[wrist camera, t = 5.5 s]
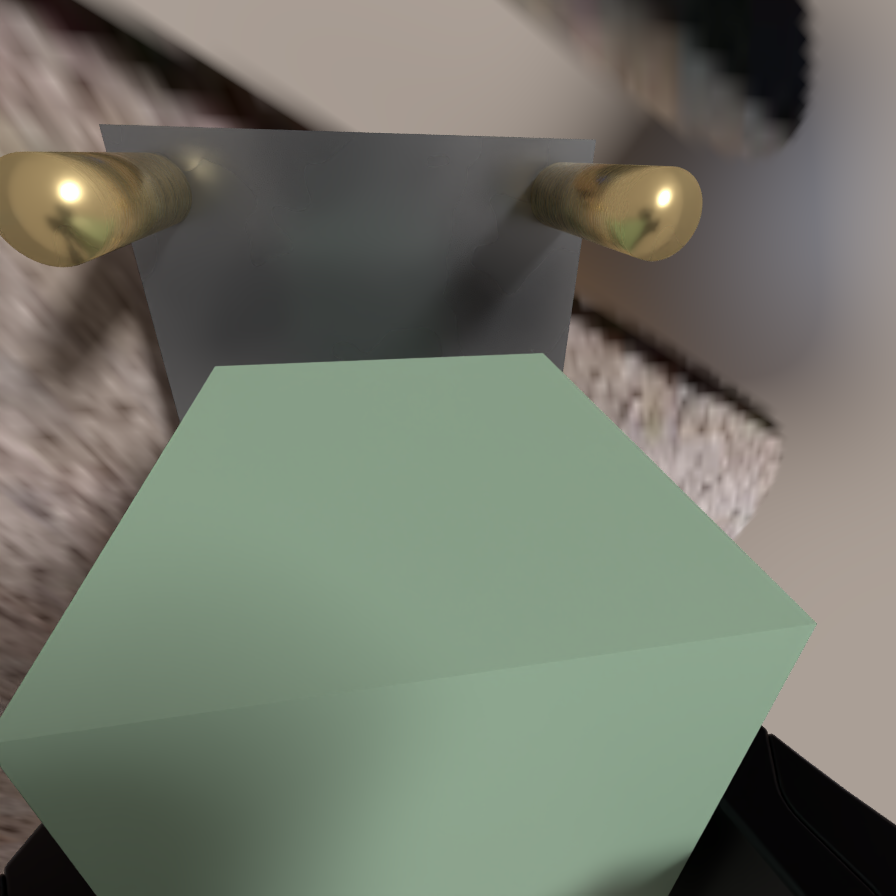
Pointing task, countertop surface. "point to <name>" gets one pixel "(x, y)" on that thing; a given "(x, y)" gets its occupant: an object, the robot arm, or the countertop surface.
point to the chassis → (342, 237)
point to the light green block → (399, 649)
